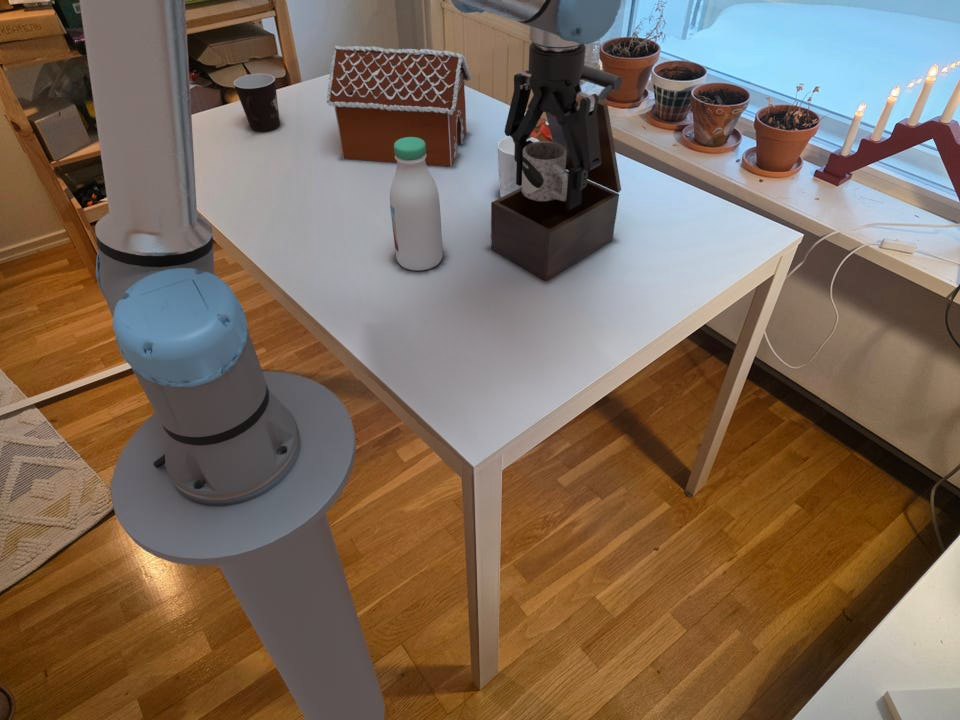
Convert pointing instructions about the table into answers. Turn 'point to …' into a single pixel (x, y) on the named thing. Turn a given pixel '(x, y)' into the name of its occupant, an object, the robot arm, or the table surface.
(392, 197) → the milk bottle
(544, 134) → the dragon fruit
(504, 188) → the white cup
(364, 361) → the table surface
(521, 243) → the chest
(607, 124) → the lid
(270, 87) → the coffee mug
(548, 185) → the mug
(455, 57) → the gingerbread house
